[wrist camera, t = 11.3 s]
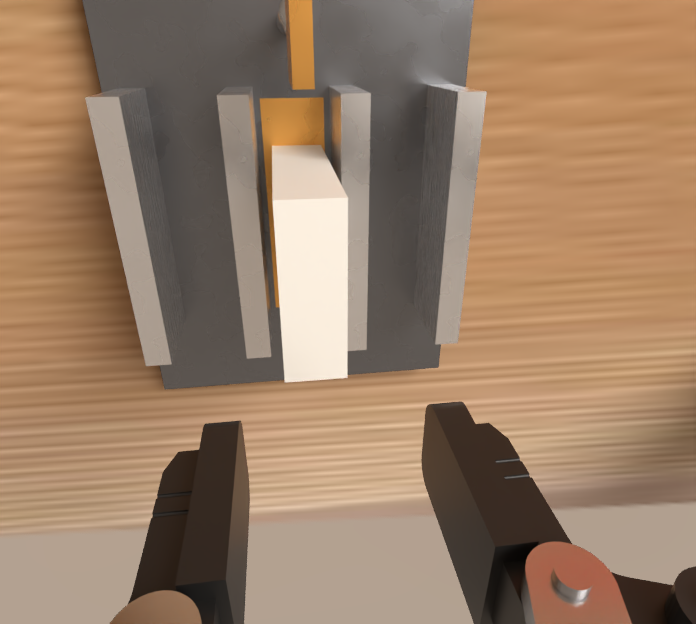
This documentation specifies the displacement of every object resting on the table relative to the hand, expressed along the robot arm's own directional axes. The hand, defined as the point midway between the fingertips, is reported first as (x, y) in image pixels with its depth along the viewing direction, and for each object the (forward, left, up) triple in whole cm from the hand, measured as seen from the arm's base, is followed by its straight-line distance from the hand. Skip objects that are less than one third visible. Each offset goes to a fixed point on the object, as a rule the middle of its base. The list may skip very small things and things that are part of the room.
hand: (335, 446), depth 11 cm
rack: (0, 0, -19) cm, 19 cm away
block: (0, 0, -18) cm, 18 cm away
